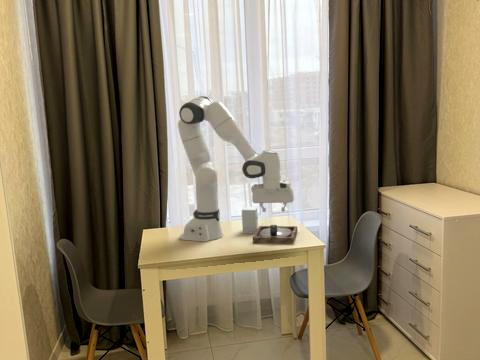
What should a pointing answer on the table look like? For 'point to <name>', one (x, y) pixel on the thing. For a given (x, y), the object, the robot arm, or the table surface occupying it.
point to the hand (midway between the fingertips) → (273, 211)
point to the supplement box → (249, 219)
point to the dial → (275, 232)
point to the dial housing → (275, 239)
